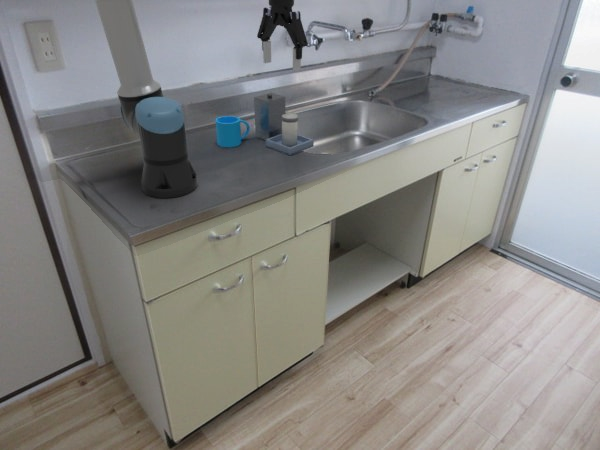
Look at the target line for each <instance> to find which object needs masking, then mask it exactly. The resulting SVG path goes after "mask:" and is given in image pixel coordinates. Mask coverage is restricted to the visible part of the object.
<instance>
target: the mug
mask: <svg viewBox="0 0 600 450" xmlns="http://www.w3.org/2000/svg"><path fill="white" fill-rule="evenodd" d="M241 123H243V124H244V125H245V126H246V131H245V132H244V133H243V135H242V133H241V132H242V130H241ZM250 129H251V128H250V124H249V123H248V122H247V121H246V120H243V119H241V118H239V117H238V116H234V115H224V116H219V117H216V118H215V130H216V141H217V142H216V143H217V145H218V146H219V147H222V148H234V147H239V146H241V144H242V139H244V138H246V137H247V135H249V133H250Z"/></svg>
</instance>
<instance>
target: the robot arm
mask: <svg viewBox="0 0 600 450" xmlns="http://www.w3.org/2000/svg"><path fill="white" fill-rule="evenodd" d="M94 1H95V2H94V3H95V5H96V8H97V12H98V16H99V18H100V23H101V25H102V28H103V31H104V35H105V37H106V41H107V43H108V44H107V45H108V47H109V50H110V54H111V58H112V60H113V64H114V67H115V70H116V73H117V77H118V79H119V85H120V87H118V90H117V91H116V93H117V96H118V100H119V103H120V104H119V110H120V116H121V119H122V120H123V122H124V124H125V125H126V126H127V127H128V128H129V129H130V130H131V131H132V132H133V133H134V134H135V135H136V136H137V137H138V138H139V141H140V145H141V152H142V156H143V157H142V158H143V163H144V164H143V168H142V173H141V178H140V179H141V180H140V185H141V189H142V192H143V193H144V194H145V195H147V196H149V197H153V198H157V199H158V198H159V199H160V198H161V199H172V198H177V197H181V196H184V195H187V194H190V193H192V192H193V191H195V189H196V188H197V187H198V184H199V181H198V176H197V172H196V170H195V169H194V167H193V165H192V163H191V160H190V158H189V152H188V145H187V135H186V128H185V115H184V114H185V113H183V108H182V106H181V104H180V103H179V102H178V101H177V100H175V99H173V98H167V97H164V94H163V91H162V87H161V84H160V83H159V82H158V81H156V80H155V79H154V78H153V75H152V71H151V67H150V63H149V59H148V55H147V52H146V47H145V44H144V43H145V42H144V40H143V37H142V32H141V29H140V24H139V22H138V17H137V14H136V9H135V5H134V3H133V0H94ZM268 5H269V7H263V11H262V12H263V13H262V18H261V20H260V25H259V29H258V31H257V36H256V37H257V39H259V40H260V41H261V48H262V52H263V53H262V54H263V56H262V58H263V64H268V63H272V41H271V37H272V35H273V33H275V32H274V31H275V30H276V28H277V27H278V26H280V27H283V28H284V29H285V30H286V31H287V34H288V35H289V37H290V40H291V42H292V44H293V47H292V71H294V72H296V71H300V70H302V69H301V68H302V67H301V65H302V63H301V62H302V58H303V48H305V47H308V40H307V36H306V34H305V29H304V26H303V22H302V20H301V19H302V17H301V11H299V10H298V11H293V6H294V5H295V0H268Z"/></svg>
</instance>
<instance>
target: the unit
mask: <svg viewBox="0 0 600 450" xmlns="http://www.w3.org/2000/svg"><path fill="white" fill-rule="evenodd" d="M253 103H254V104H253V105H254V106H253V107H254V123H255V124H254V127H255V128H254V129H255V130H254V131H255V134H254V135H255V137H256V138H258V139H261V140H264V141H266V139H269V138H272V137H274V136H277V135H280V134H282V115H283V114H286V96H283V95H281V94H277V93H273V92H269V93H265V94H261V95H257V96H254V97H253Z"/></svg>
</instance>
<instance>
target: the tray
mask: <svg viewBox="0 0 600 450" xmlns="http://www.w3.org/2000/svg"><path fill="white" fill-rule="evenodd" d="M297 142H298V145H296V146H293V147H287V146H285V145H282V134H280V135H277V136H274V137H272V138H269V139H266V140H265V147H267V148H269V149H271V150H274V151H277V152H280V153H282V154H284V155H288V156H293V155H296V154H298V153H300V152H303V151H305V150H308V149H310V148H313V147H314V143H315V142H314V139H312V138H309V137H307V136H304V135H301V134H299V133H298V136H297Z"/></svg>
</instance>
